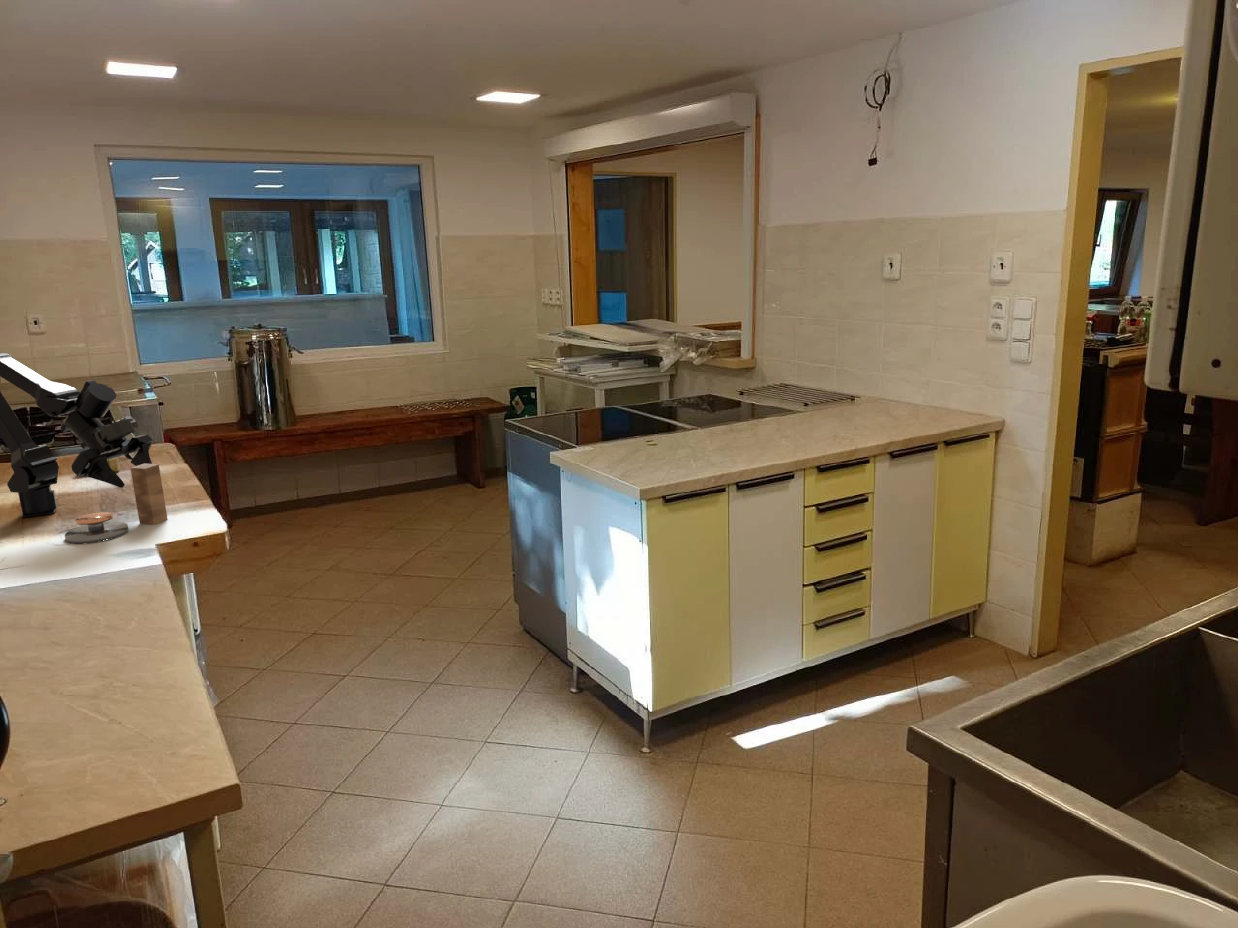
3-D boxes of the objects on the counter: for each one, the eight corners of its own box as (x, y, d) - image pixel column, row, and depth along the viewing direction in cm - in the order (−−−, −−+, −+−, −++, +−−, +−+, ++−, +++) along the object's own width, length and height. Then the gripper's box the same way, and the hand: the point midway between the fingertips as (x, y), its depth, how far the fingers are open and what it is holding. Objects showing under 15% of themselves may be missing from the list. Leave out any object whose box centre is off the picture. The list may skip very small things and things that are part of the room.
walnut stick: (139, 523, 200) (130, 467, 197) (153, 518, 204) (144, 463, 200) (154, 524, 199) (145, 468, 195) (167, 519, 202) (158, 464, 199)
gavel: (86, 450, 261) (125, 447, 265) (89, 466, 262) (127, 462, 266) (75, 461, 242) (116, 457, 246) (77, 477, 243) (118, 473, 247)
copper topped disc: (63, 547, 185) (59, 529, 184) (67, 531, 195) (64, 514, 194) (128, 537, 190) (125, 519, 189) (128, 522, 201) (126, 505, 200)
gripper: (71, 415, 188) (122, 467, 188) (140, 400, 205) (186, 447, 205) (49, 450, 192) (99, 501, 192) (118, 432, 209) (164, 479, 209)
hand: (139, 480), depth 199 cm, fingers open, 9 cm apart
